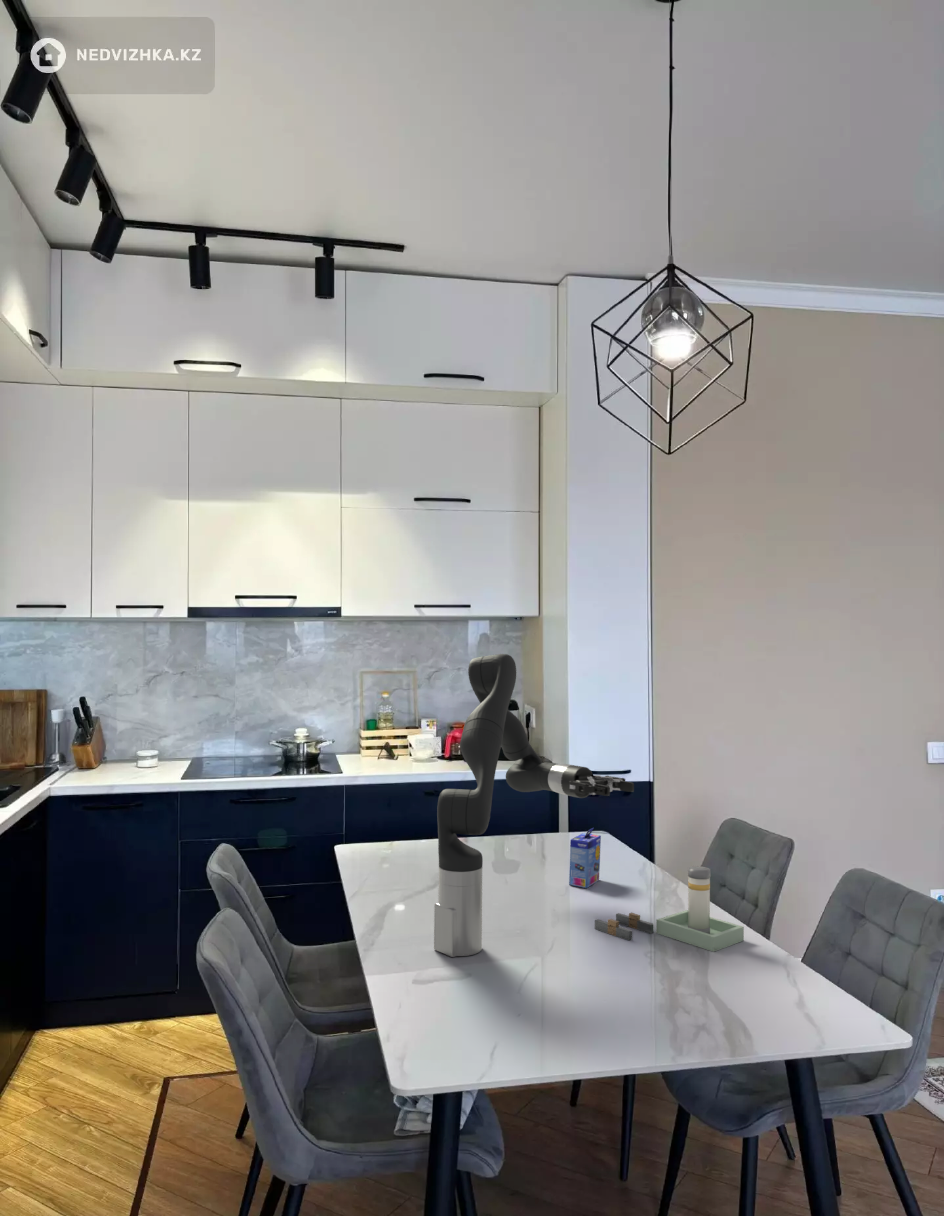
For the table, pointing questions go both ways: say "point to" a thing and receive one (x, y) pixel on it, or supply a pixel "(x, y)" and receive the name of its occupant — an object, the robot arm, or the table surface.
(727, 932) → the tray
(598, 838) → the ink cartridge box
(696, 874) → the cylinder
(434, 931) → the robot arm
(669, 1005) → the table surface
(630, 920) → the clip rails
